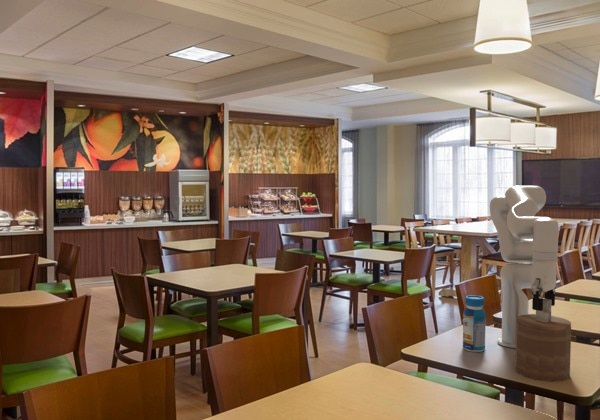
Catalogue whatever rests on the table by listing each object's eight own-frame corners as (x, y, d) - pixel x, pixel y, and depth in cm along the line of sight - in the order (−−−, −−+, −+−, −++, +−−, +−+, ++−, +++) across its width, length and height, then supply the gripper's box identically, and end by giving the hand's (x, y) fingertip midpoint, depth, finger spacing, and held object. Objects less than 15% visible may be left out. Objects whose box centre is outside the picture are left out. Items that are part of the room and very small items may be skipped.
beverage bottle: (484, 353, 201) (485, 300, 200) (461, 351, 205) (462, 298, 203) (486, 347, 209) (487, 295, 208) (463, 344, 212) (464, 293, 211)
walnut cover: (528, 360, 194) (529, 292, 193) (577, 372, 182) (579, 299, 181) (506, 371, 183) (508, 299, 181) (557, 385, 171) (559, 308, 169)
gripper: (544, 252, 189) (542, 301, 190) (522, 258, 177) (521, 310, 178) (566, 254, 183) (565, 305, 185) (545, 260, 171) (544, 314, 173)
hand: (543, 307), depth 181 cm, fingers open, 9 cm apart
